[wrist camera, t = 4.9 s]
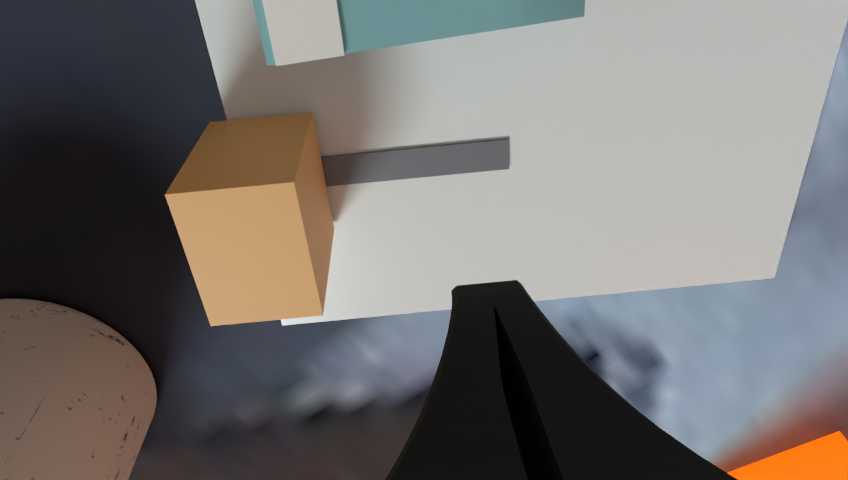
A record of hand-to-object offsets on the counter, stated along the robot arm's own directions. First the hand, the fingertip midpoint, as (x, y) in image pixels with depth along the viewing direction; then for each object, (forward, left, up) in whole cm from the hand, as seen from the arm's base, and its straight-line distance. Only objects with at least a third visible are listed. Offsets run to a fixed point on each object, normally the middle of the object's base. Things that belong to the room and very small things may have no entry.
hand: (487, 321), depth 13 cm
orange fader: (+6, 0, -8) cm, 9 cm away
